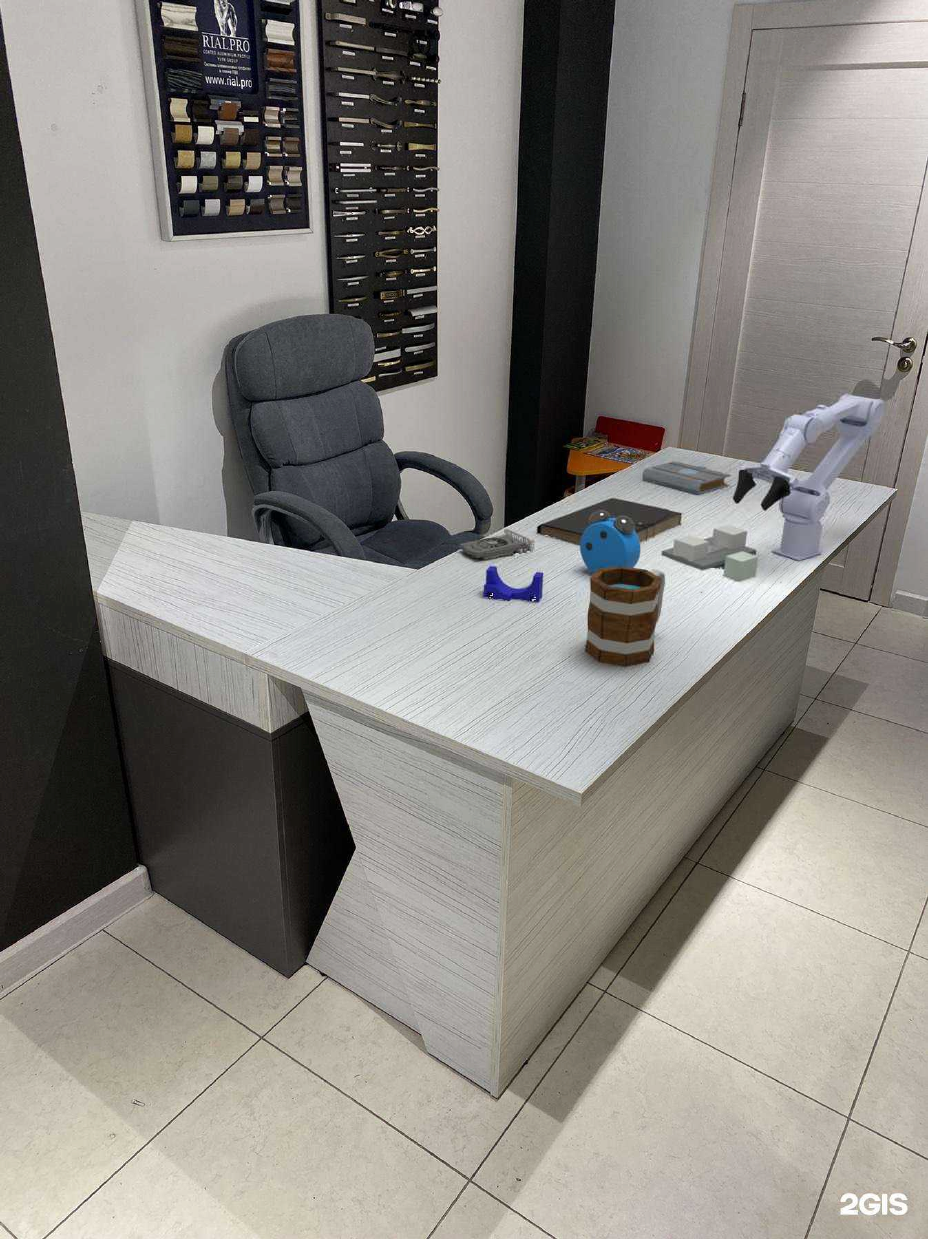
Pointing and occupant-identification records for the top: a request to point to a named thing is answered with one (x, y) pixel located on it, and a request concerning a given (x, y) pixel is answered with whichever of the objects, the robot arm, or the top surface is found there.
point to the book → (686, 477)
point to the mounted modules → (698, 548)
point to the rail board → (710, 555)
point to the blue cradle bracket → (507, 592)
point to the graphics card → (498, 545)
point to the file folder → (643, 516)
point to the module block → (740, 566)
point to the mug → (623, 614)
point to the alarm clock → (609, 542)
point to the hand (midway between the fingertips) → (748, 504)
